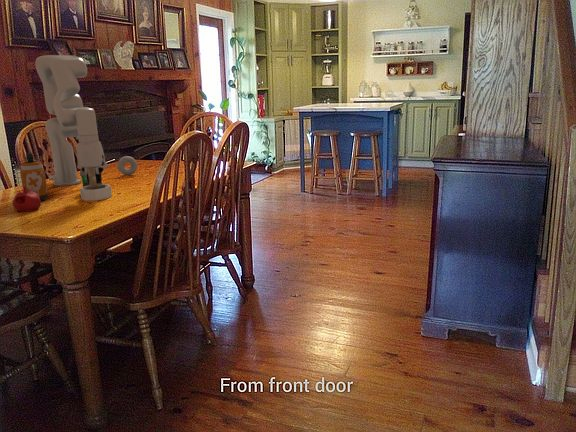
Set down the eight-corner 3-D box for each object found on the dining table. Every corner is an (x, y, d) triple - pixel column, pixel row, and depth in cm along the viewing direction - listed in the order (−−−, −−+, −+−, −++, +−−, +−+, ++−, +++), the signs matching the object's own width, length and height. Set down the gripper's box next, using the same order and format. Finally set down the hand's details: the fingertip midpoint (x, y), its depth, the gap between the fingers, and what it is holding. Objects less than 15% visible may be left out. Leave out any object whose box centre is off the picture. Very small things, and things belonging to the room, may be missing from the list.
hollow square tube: (86, 197, 206) (85, 187, 205) (93, 194, 211) (92, 184, 210) (99, 197, 205) (98, 187, 204) (105, 194, 211) (104, 184, 210)
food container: (95, 193, 216) (92, 171, 214) (82, 193, 217) (79, 171, 215) (110, 187, 228) (107, 166, 225) (98, 187, 229) (95, 166, 226)
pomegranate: (35, 205, 198) (31, 182, 196) (46, 208, 192) (43, 185, 189) (9, 210, 191) (4, 187, 188) (20, 214, 185) (16, 190, 182)
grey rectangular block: (90, 187, 206) (87, 166, 203) (93, 186, 209) (90, 165, 206) (96, 187, 205) (94, 166, 203) (100, 186, 208) (97, 164, 206)
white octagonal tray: (77, 200, 204) (75, 190, 202) (90, 194, 215) (89, 184, 213) (103, 200, 202) (101, 189, 201) (115, 194, 213) (114, 184, 212)
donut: (138, 173, 261) (136, 155, 259) (138, 174, 258) (136, 155, 256) (118, 175, 258) (116, 156, 256) (118, 176, 255) (116, 157, 252)
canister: (25, 203, 202) (16, 154, 196) (25, 198, 211) (16, 151, 206) (49, 200, 206) (41, 152, 200) (48, 195, 215) (40, 149, 210)
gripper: (65, 140, 199) (71, 185, 204) (103, 139, 197) (109, 184, 202) (74, 138, 206) (81, 181, 211) (111, 137, 205) (117, 181, 209)
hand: (94, 182), depth 207 cm, fingers closed on grey rectangular block, 3 cm apart
